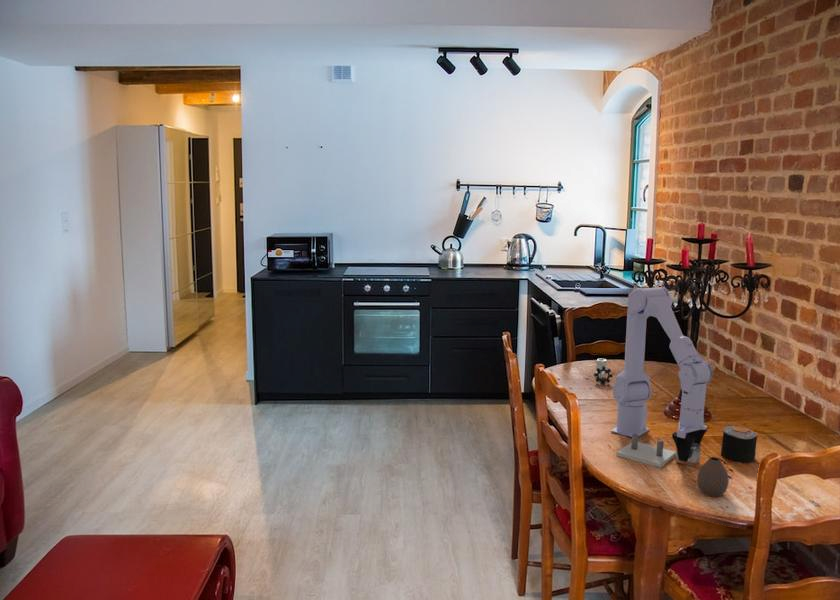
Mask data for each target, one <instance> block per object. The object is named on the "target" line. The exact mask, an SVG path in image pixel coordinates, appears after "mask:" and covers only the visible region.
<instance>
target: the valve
mask: <svg viewBox="0 0 840 600" xmlns="http://www.w3.org/2000/svg"><path fill="white" fill-rule="evenodd" d="M607 366H608V365H607V359H606V358H597V359H596V365H595V372H594V373H593V376H594V377H596V378H595V382H596V383H599V381H600V383H601V385H604V384H605V382H607V383H610V382H611V378H613V376H614V375H613V373H611V371H612V370H611V368H608V367H607ZM610 373H611V374H610ZM606 376H607V378H606ZM604 377H605V378H604Z"/></svg>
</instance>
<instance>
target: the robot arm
mask: <svg viewBox="0 0 840 600" xmlns="http://www.w3.org/2000/svg"><path fill="white" fill-rule="evenodd" d="M672 305H673V298H672V297H671V295H670V292H669V290H668V289H667V288H666V287H663V286H658V287H648V288H646V287H645V288H644V287H643V288H639V287H637V288H634V289H633V290H632V291H631V292H629V293H628V297H627V310H626V312H627V313H626V317H627V318H626V329H625V331H626V332H625V333H626V334H625V349H624V364H623V365H624V367H623V370H622V371H621V372H620V373H619V374H617V375H616V376H615V382H614V385H613V388H612V395H613V398H614V400H615V401H616V403H617V417H616V426H615V427H614V428H612V429H610V432H611V433H614V434H619V435H622V436H626V437H630V438H632V434H638V438H639V437H641V436H642V435H643V434H645V433H646V432H648V431H650V428H649V427H647V419H648V418H647V417H648V406H647V400H649V399H650V398H651V395H652V387H651V384H650V383H651V382H650V381H651V380H650V379H651V377H650V376H649V375H648V374H647V373H645V371H644V368H645V354H646V337H647V336H646V334H647V321H648V318H649V317H654V318H656V319H657V320H658V322H659V324H660V325H661V327H662V329H663V330H664V332H665V333H666V335H667V337H668V339H669V340H670V342H669V347H668V348H669V349H670V351H671V353H672V356H673V357H674V360H675V361H676V363H677V366H678V367H679V370H678V372H677V373H678V379H679V381H680V389H681V401H680V411H679V413H680V415H679V420H678V425H677V426H678V428H677V431H674V432H673V433H672V434H671V437H672V440H673V442H674V443H675V447H676V452H677V454H678V459H679V460H680V461H684V462H687V461H688V458H689V454H690V450H691V447H692V444H693V443H694V442H695V443H699V444H701V443H702V441H703V438H704V436H705V435H706V433H707V431H708V429H709V427H708V426H707V425H706V424H704V420H705V417H704V416H705V415H704V414H705V413H704V412H705V404H706V394H707V393H706V392H707V384H708V383H710V382H711V381H712V379H713V370H712V367H711V364H710V363H709V362H707V361H706V360H704V357H703V358H702V357H700V355H699V352H698V351H697V349H696V347H695V346H694V343H693V341H692V339H691V338H690V337H688V336H685V335H684V334H683V332H682V330H681V327H680V325H679V323H678V320H677V318H676V315H675V313H674V310H673V309H672Z"/></svg>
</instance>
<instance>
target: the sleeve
mask: <svg viewBox="0 0 840 600" xmlns="http://www.w3.org/2000/svg"><path fill="white" fill-rule="evenodd" d="M701 446H702V445H701V444H699V443H695V442H694V443H693V444H692V447H691V450H690V454H689V458H688V461H687V462H684V461H680V460H679V459H678V454H677V451H675V452H676V456H675V463H677V464H681V465H684V466H688V467H692V468H694V467H695V466H696V465H697V464H699V463H700V457H701Z"/></svg>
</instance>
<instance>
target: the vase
mask: <svg viewBox="0 0 840 600" xmlns="http://www.w3.org/2000/svg"><path fill="white" fill-rule="evenodd" d="M696 479H697V485H698V488H699V490H700V491H701V492H702V493H703V494H704V495H705V496H708V497H712V498H713V497H714V498H716V497H717V498H718V497H720V496H723V494H725V493H726V492H727V489H728V487H729V483H730V481H729V480H730V477H729V473H728V471H727V469H726V467H725V465H724V464H723V463H722V460H721V459H720V458H719V457H716V456H710V457H709V458H708V460H707V461H706V462H705V463H703V464H702V465H701V467H699V470H698V472H697V478H696Z"/></svg>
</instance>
